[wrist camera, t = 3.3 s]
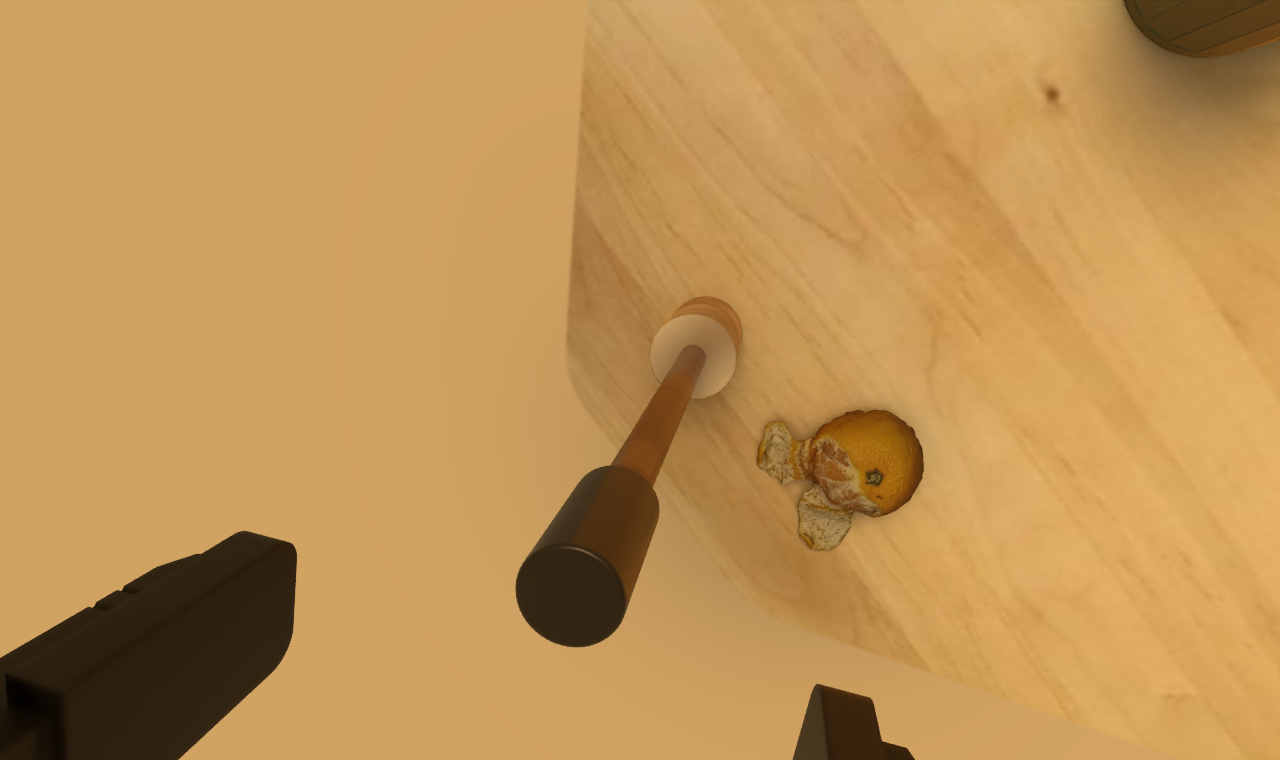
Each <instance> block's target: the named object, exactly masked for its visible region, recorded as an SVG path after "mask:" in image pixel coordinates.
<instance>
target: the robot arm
mask: <svg viewBox="0 0 1280 760" xmlns="http://www.w3.org/2000/svg"><path fill="white" fill-rule="evenodd" d="M296 564H297V553H296V549H295V547H294V545H293V544H291V543H289V542H286V541H282V540H278V539H274V538H271V537H267V536H263V535H259V534H256V533H252V532H248V531H241V532H238V533H236V534H234V535H232V536H230V537H229V538H227V539H225V540H224V541H222V542H220V543H219V544H217V545H215V546H214V547H212V548H211V549H209V550H207V551H205V552H204V553H202V554H195V555H192V556H189V557H186V558H183V559H180V560H177V561H173V562H170V563H167V564H164V565H161V566H159V567H156V568H154V569H153V570H151V571H149V572H147V573H146V574H144V575H142V576H141V577H139V578H137V579H135V580H134V581H132V582H130V583H129V584H127V585H125V586H124V588H123V590H122V591H119V590H117V591H115V592H113V593H111V594H110V595H108V596H106V597H104V598H103V599H101V600H99V601H97V602H96V604H95V606H94V607H93V608H91V607H87V608H85V609H84V610H82V611H80V612H79V613H77V614H75V615H74V616H72V617H70V618H68V619H67V620H65V621H63V622H62V623H60V624H58V625H56V626H54V627H53V628H51V629H49V630H48V631H46V632H44V633H42V634H41V635H39V636H37V637H36V638H34V639H32V640H31V641H29V642H27V643H25V644H24V645H22V646H20V647H18V648H17V649H15V650H13V651H11V652H10V653H8V654H6V655H5V656H3V657H1V658H0V760H178V759H180V758H181V757H182V756H183V755H184V754H185V753H186V752H187V751H188V750H189V749H190V748H191V747H192V746H194V745H195V744H196V743H197V742H198V741H199V740H200V739H201V738H202V737H203V736H204V735H205V734H206V733H207V732H208V731H209V730H211V729H212V728H213V727H214V726H215V725H216V724H217V723H218V722H219V721H220V720H221V719H223V718H224V717H225V716H226V715H227V714H228V713H229V712H230V711H231V710H232V709H233V708H234V707H235V706H237V704H239V703H240V702H241V701H242V700H243V699H244V698H245V697H246V696H247V695H248V694H249V693H251V692H252V691H253V690H254V689H255V688H256V687H257V686H258V685H259V684H260V683H261V682H262V681H263V680H264V679H266V678H267V677H268V676H269V675H270V674H271V673H272V672H273V671H274V670H275V669H276V667H277V666H278V665H279V663H280V662H281V660H282V659H283V657H284V655H285V653H286V651H287V649H288V647H289V644H290V641H291V638H292V633H293V624H294V603H295V585H296V584H295V583H296V566H297V565H296ZM793 760H915V759H914V758H913V756H912V755H911V753H910V752H909V751H908V749H907V748H905V747H901V746H897V745H894V744H890V743H886V742H883V741H882V740H881V736H880V731H879V726H878V722H877V717H876V712H875V708H874V704H873V701H872V699H871V698H869V697H865V696H861V695H858V694H854V693H850V692H846V691H843V690H839V689H835V688H831V687H828V686H824V685H820V684H816V685H815V687H814V689H813V691H812V694H811V697H810V700H809V704H808V707H807V711H806V715H805V718H804V721H803V725H802V728H801V732H800V736H799V739H798V743H797V746H796V750H795V753H794V757H793Z"/></svg>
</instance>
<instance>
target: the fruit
mask: <svg viewBox="0 0 1280 760" xmlns="http://www.w3.org/2000/svg"><path fill="white" fill-rule="evenodd" d="M757 466H758V467H759V468H760V469H762V470H764V471H766V472H767V473H768V474H769V475H770V476H774V477H777V478H779V479H780V480H781V481H782V483H783V484H786V483H788V482H791V481H794V480H797V479H801V480H806V479H808V480H812V481H813V482H814V487H813V489H812V490H811V491H809V492H804V495H803V497H802V499H801V501H800V503H799V508H798V512H799V524H800V528H799V536H800V537H802V538H803V540H804V541H805V542H806V543H807V545H808V547H809V548H810V549H812V548H814V549H816V550H819V551H820V550H823V551H829V550H831V549H833V548H835V547H836V546H838V545H839V544H840V543H841V541H842V540H843V538H844V537H845V536H846V534H847V533H848V530H849V529H850V525H851V520H850V519H851V516H852V515H853V513H854V512H855V510H856V511H857V512H859V513H863V514H865V515H868V516H870V517H873V518H874V517H879V516H883V515H887V514H889V513H892V512H893V511H896V510H897V509H899V508H900V507H901V506H903V505H904V504H905V503H907V502H908V501H909V500H910V499H911V497H912V495H913V493H914V492H915V490H916V489H917V487H918V485H919V483H920V481H921V480H922V474H923V471H924V462H923V452H922V447H921V445H920V443H919V440H918V439H917V438H916V435H915V431H914V429H913V428H912V427H909V426H907V424H906V422H904V421H902V420H901V419H900V418H898V417H897V416H895V415H894V414H892V413H891V412H888V411H878V410H872V411H869V412H864V411H860V410H857V411H854V412H847V413H846V414H845V415H843V416H841V417H837V418H835V419H834V420H833V421H832V422H829V423H826V424H824V425H823V426H822V427H821V428H820V429H819V431H818V432H817V433H816V436H815V437H812V438H809V439H806V440H804V441H797V440H796V439H794V438H793V437H792V436H791V435H790V433H789V432H788V427H787V426H786V424H785V423H783V422H780V421H773V422H770V423H769V424H768V425H767V426H766V427H765V433H764V437H763V440H762V441H761V443H760V445H759V449H758V457H757Z"/></svg>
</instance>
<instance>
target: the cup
mask: <svg viewBox="0 0 1280 760" xmlns="http://www.w3.org/2000/svg"><path fill="white" fill-rule="evenodd" d="M1125 2H1126V6H1127V8H1128V10H1129V12H1130V15H1131V17H1132V19H1133V20H1134V21H1135V23H1136V24H1137V26H1138V27H1139V29H1140V30H1141V31H1142V32H1143V33H1144V34H1145V35H1146V36H1147V37H1148V38H1150V39H1151V40H1152V41H1154V42H1155V43H1156V44H1158V45H1160V46H1162V47H1163V48H1165V49H1167V50H1170V51H1172V52H1175V53H1178V54H1182V55H1186V56H1191V57H1204V58H1206V57H1220V56H1226V55H1232V54H1235V53H1238V52H1242V51H1245V50H1248V49H1251V48H1255V47H1259V46H1263V45H1266V44H1269V43H1272V42H1275V41H1278V40H1280V0H1125Z"/></svg>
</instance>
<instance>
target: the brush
mask: <svg viewBox="0 0 1280 760" xmlns="http://www.w3.org/2000/svg"><path fill="white" fill-rule="evenodd" d="M741 338H742V327H741V323H740V320H739V317H738V315H737V314H736V312H735V311H734V310H733V308H732V307H731V306H729V305H728V304H727V303H725V302H724V301H722V300H720V299H717V298H713V297H698V298H694V299H692V300H689V301H688V302H686V303H684V304H683V305H682V306H681V307H680V308H679V309H678V310H677V311H676V312H675V313H674V314H673V315H672V316H671V318H670V319H669V320H668V321H667V322H666V323H665V324H664V325H663V326H662V327H661V328H660V330H659V331H658V332H657V334H656V336H655V337H654V340H653V342H652V345H651V350H650V362H651V367H652V370H653V372H654V375H655V377H656V378H657V380H658V381H659V383H660V384H661V385H660V386H659V388H658V390H657V391H656V393H655V395H654V396H653V398H652V399H651V401H650V403H649V404H648V406H647V407H646V409H645V411H644V412H643V414H642V415H641V417H640V419H639V420H638V422H637V424H636V425H635V427H634V428H633V430H632V432H631V433H630V435H629V436H628V438H627V440H626V441H625V443H624V444H623V446H622V448H621V449H620V451H619V453H618V454H617V456H616V457H615V459H614V461H613V462H612V464H611V465H610V466H604V467H600V468H597V469H595V470H593V471H591V472H590V473H588V474H587V475H585V476H584V477H583V478H582V479H581V481H580V482H579V483H578V485H577V486H576V488H575V489H574V491H573V492H572V493H571V495H570V497H569V498H568V499H567V501H566V502H565V503H564V505H563V507H562V508H561V509H560V511H559V512H558V514H557V515H556V517H555V518H554V519H553V521H552V522H551V524H550V525H549V526H548V528H547V529H546V531H545V532H544V534H543V535H542V537H541V538H540V539H539V541H538V542H537V544H536V545H535V546H534V548H533V549H532V551H531V552H530V554H529V555H528V557H527V558H526V559H525V561H524V562H523V564H522V566H521V567H520V569H519V572H518V575H517V579H516V598H517V603H518V606H519V608H520V611H521V613H522V615H523V617H524V618H525V620H526V621H527V623H528V624H529V625H530V626H531V627H532V628H533V629H534V630H535V631H536V632H537V633H538V634H540V635H541V636H542V637H544V638H546V639H547V640H549V641H551V642H554V643H556V644H560V645H563V646H567V647H586V646H590V645H594V644H596V643H599V642H601V641H603V640H604V639H606V638H608V637H609V636H610V635H611V634H613V633H614V632H615V631H616V629H617V628H618V627H619V625H620V624H621V622H622V620H623V618H624V615H625V612H626V610H627V606H628V604H629V601H630V598H631V595H632V592H633V589H634V587H635V584H636V581H637V579H638V576H639V573H640V570H641V567H642V564H643V562H644V559H645V556H646V553H647V550H648V548H649V545H650V542H651V539H652V536H653V534H654V531H655V528H656V525H657V522H658V518H659V502H658V498H657V495H656V493H655V491H654V489H653V486H654V483H655V481H656V478H657V476H658V474H659V471H660V469H661V467H662V464H663V462H664V459H665V457H666V455H667V452H668V450H669V447H670V445H671V443H672V440H673V438H674V435H675V433H676V431H677V428H678V426H679V423H680V421H681V419H682V416H683V414H684V411H685V409H686V407H687V404H688V402H689V399H702V398H707V397H709V396H712V395H714V394H716V393H717V392H719V391H720V390H722V389H723V388H724V387H725V386H726V385H727V383H728V382H729V381H730V379H731V378H732V376H733V373H734V371H735V367H736V363H737V358H738V353H739V348H740V343H741Z"/></svg>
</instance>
